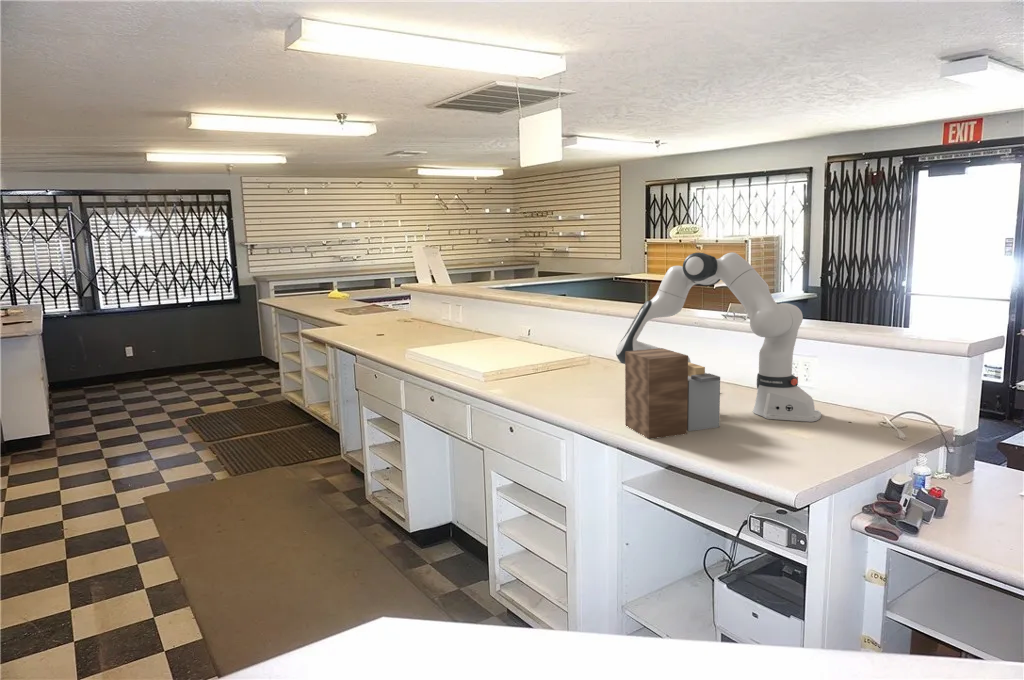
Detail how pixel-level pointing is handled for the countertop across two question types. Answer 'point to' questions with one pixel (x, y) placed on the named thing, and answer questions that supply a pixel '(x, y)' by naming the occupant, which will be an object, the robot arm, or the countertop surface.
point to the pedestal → (656, 392)
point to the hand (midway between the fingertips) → (673, 357)
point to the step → (703, 404)
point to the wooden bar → (700, 373)
